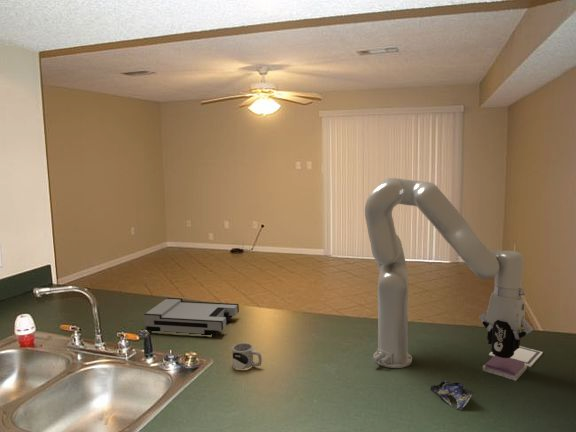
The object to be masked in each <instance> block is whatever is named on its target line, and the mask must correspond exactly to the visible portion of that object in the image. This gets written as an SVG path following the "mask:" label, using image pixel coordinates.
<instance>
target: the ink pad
mask: <svg viewBox="0 0 576 432" xmlns="http://www.w3.org/2000/svg"><path fill="white" fill-rule="evenodd" d="M524 364H525V363H524V362H521V361H517V360H513V359H510V358H501V357H498V356H496V355H495V356H491V358H490V359H488V361H487V362H486V363H485V364H484V365H483V366H482V371H484V372H486V373H490V374H493V375H496V376H500V377H503V378H506V379H509V380H513V381H515V382H516V381H518V380H519V378H520V377H521V376H522V375H523V374H524V373H525V372H526V370H527V369H528V366H527V365H524Z"/></svg>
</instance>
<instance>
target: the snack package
mask: <svg viewBox="0 0 576 432" xmlns="http://www.w3.org/2000/svg"><path fill="white" fill-rule="evenodd" d="M430 391H432V392H435V393H436V394H438V395H439V397H440V398H442V399H443V401H445V402H446V403H447V404H449V405H450V406H451V407H453V408H455V409H457V410H460V411H462V410H463V408H464V407H465V406H466V405H467V404H468V403H469V400H470V399H471V397H472V396H473V394H474V391H473V390H468V389H467V387H465V386H464V385H463V384H462V383H460V382H450V383H449V381H448V380H442V381H441V382H440V383H439V384H438V385H434V384H433V385H430ZM449 396H452V397H453V398H454V399H455V400H456V407H454V406H453V405H452V402H451V401H450V400H451V398H450V397H449Z"/></svg>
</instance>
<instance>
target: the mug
mask: <svg viewBox="0 0 576 432" xmlns="http://www.w3.org/2000/svg"><path fill="white" fill-rule="evenodd" d="M231 349H232V367H233V366H234V367H235V368H238V369H245V368H249V367H251V366H252V367H253V368H254V367H261V366H262V362H263V360H262V353H261V352H259V351H257V350H255V349H254V347H253V345H252V344H251V343H248V342H240V343H236V344H234V345H233V346H232V348H231ZM254 355H255V356H257V357H258V361H257V362H256V361H254Z"/></svg>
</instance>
